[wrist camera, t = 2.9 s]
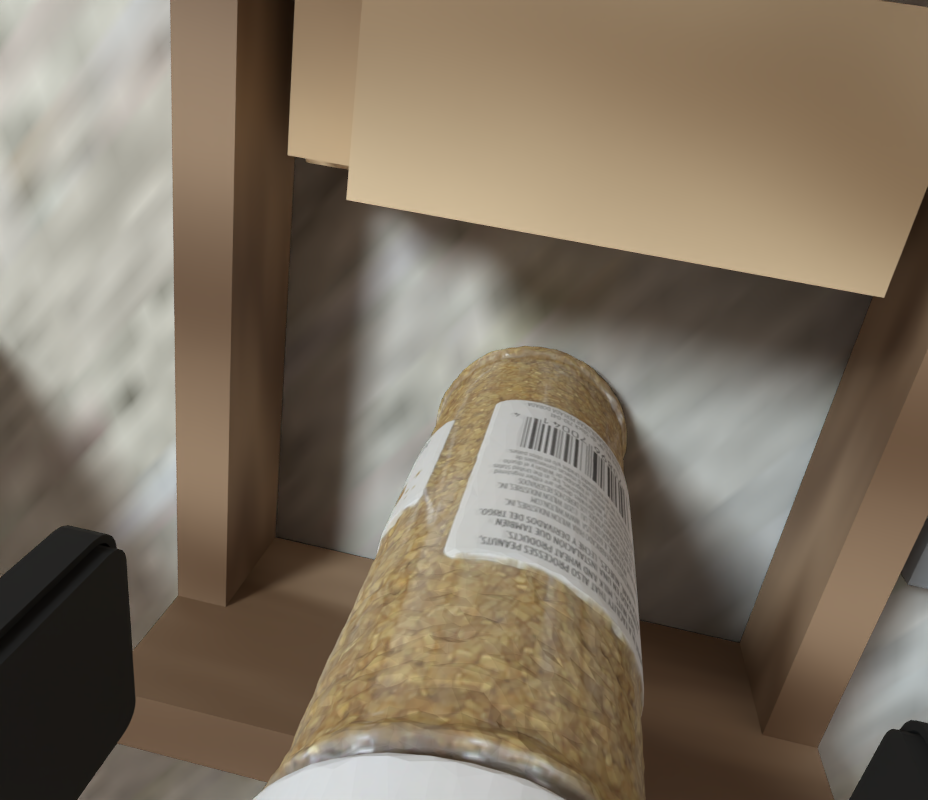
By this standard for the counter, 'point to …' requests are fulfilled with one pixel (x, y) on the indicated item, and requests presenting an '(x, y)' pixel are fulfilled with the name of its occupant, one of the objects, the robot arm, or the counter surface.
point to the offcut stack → (632, 123)
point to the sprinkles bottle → (492, 610)
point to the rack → (342, 575)
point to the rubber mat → (918, 561)
